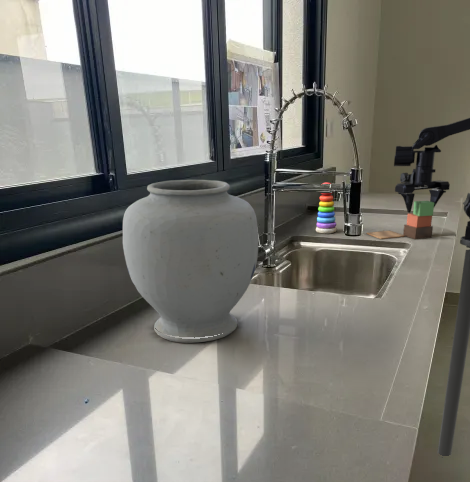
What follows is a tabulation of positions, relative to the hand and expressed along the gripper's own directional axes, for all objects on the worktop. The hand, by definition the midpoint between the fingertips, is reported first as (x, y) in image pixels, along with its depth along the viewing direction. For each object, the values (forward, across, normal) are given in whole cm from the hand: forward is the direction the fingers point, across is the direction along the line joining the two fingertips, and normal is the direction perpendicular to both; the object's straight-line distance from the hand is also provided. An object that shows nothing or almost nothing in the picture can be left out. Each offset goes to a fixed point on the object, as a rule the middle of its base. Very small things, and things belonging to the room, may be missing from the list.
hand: (420, 211), depth 177 cm
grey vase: (+9, +95, +55) cm, 110 cm away
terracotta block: (+5, 0, 0) cm, 5 cm away
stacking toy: (+9, +26, -21) cm, 35 cm away
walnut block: (+9, 0, 0) cm, 9 cm away
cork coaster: (+9, +9, -6) cm, 14 cm away
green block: (+1, 0, +1) cm, 2 cm away
